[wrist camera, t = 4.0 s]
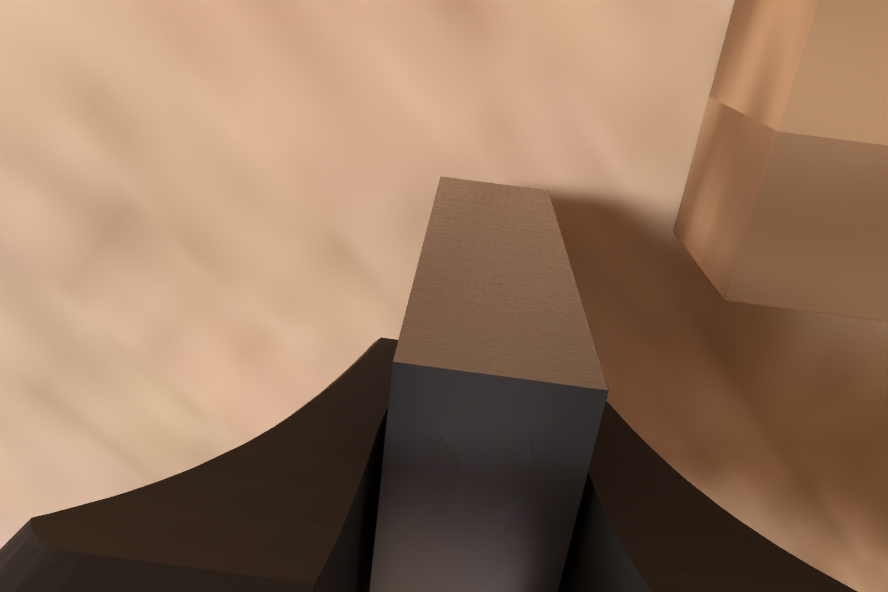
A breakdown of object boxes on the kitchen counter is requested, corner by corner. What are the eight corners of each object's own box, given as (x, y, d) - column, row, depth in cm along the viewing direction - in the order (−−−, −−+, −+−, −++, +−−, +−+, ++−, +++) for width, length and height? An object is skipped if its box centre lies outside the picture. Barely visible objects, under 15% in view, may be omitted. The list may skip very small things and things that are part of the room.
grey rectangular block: (499, 455, 15) (507, 792, 9) (408, 443, 15) (351, 771, 9) (548, 191, 13) (608, 390, 6) (440, 176, 13) (392, 361, 6)
